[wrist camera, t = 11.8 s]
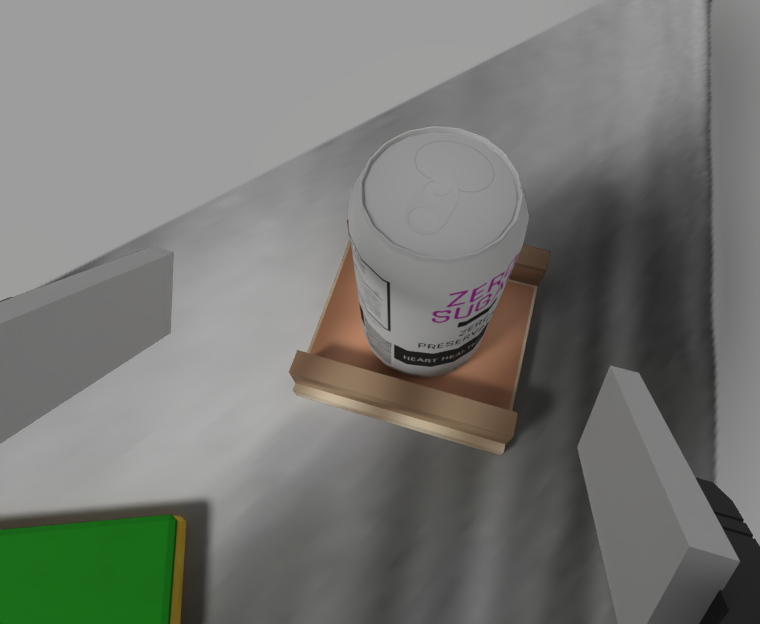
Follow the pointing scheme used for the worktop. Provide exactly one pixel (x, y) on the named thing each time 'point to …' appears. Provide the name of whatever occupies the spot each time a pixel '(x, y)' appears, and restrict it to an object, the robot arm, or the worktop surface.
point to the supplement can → (433, 246)
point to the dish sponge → (94, 572)
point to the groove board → (424, 395)
